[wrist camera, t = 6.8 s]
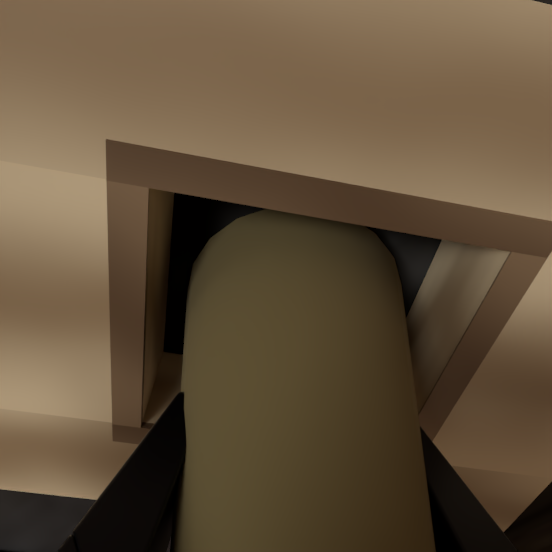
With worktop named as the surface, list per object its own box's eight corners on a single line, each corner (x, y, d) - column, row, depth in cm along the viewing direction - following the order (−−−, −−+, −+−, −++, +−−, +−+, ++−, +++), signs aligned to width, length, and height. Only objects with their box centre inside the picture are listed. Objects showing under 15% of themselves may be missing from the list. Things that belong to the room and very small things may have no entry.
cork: (187, 192, 11) (-187, 1131, 2) (429, 218, 12) (930, 1130, 3) (186, 366, 15) (35, 1015, 6) (373, 382, 15) (507, 1021, 6)
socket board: (466, 467, 19) (493, 544, 17) (18, 411, 18) (-26, 487, 15) (769, 57, 10) (924, 92, 8) (-94, -143, 9) (-249, -182, 6)
